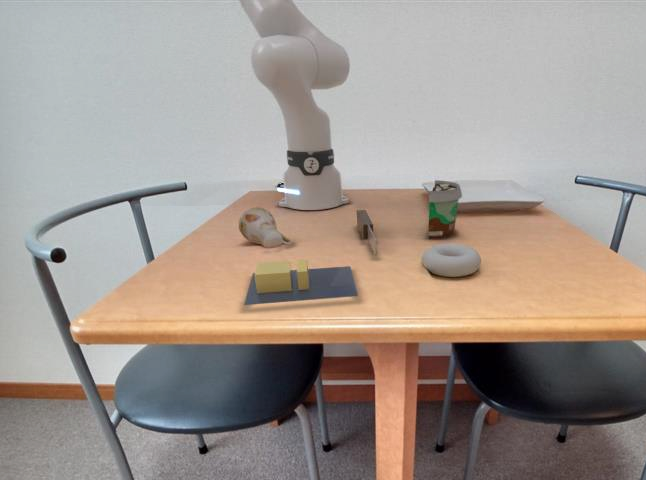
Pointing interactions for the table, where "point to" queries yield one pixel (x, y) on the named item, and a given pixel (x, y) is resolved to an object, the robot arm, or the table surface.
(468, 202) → the square plate
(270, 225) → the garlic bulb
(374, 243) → the knife
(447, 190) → the food container
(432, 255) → the donut
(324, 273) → the butter dish
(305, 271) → the butter slice
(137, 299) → the table surface
